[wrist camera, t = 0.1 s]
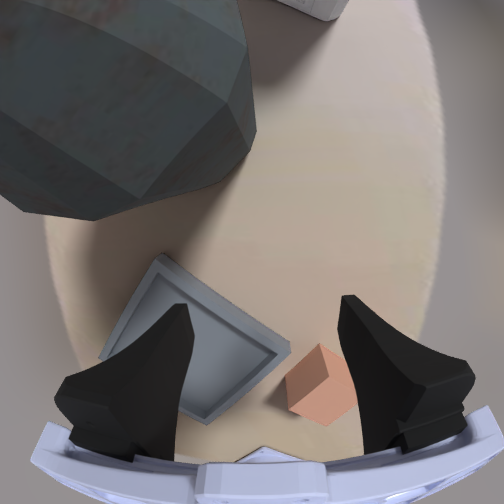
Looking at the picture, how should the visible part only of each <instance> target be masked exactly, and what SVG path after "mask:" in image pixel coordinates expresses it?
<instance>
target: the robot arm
mask: <svg viewBox="0 0 504 504" xmlns="http://www.w3.org/2000/svg"><path fill="white" fill-rule="evenodd" d="M337 330H338V335H339V340H340V345H341V348H342V351H343V354H344V357H345V360H346V363H347V366H348V369H349V372H350V375H351V377H352V380H353V383H354V387H355V391H356V396H357V401H358V406H359V412H360V419H361V426H362V435H363V445H364V455H362V456H358V457H352V458H347V459H341V460H335V461H329V462H316V461H312V460H309V461H305V460H302V459H299V458H296V457H293V456H290V455H287V454H284V453H281V452H278V451H275V450H273V449H270V448H267V447H261V448H260V449H258V450H256V451H255V452H253V453H251V454H250V455H248V456H246V457H244V458H243V459H241V460H239V461H237V462H209V463H206V464H202V465H199V464H189V463H181V462H174V449H175V435H176V424H177V416H178V409H179V402H180V396H181V392H182V388H183V384H184V381H185V378H186V374H187V371H188V367H189V364H190V360H191V357H192V353H193V347H194V339H195V334H194V330H193V326H192V322H191V318H190V314H189V310H188V306H187V303H175V304H174V305H173V306H171V307H170V308H169V309H168V310H167V311H166V312H165V313H164V314H163V315H162V316H161V317H160V318H159V319H158V320H157V321H156V322H155V323H154V324H153V325H152V326H151V327H150V328H149V329H148V330H147V331H146V332H144V333H143V334H142V335H141V336H140V337H139V338H138V339H136V340H135V341H134V342H133V343H131V344H130V345H129V346H127V347H126V348H124V349H123V350H122V351H120V352H119V353H117V354H115V355H114V356H112V357H110V358H109V359H107V360H105V361H103V362H102V363H100V364H98V365H96V366H93V367H91V368H89V369H87V370H84V371H82V372H79V373H76V374H73V375H70V376H67V377H66V378H65V379H64V381H63V383H62V384H61V386H60V388H59V390H58V392H57V393H56V395H55V397H54V401H55V403H56V405H57V407H58V408H59V410H60V411H61V412H62V413H63V414H64V416H65V417H66V418H67V419H68V420H69V421H70V422H71V423H72V424H73V425H74V427H73V429H72V431H71V430H69V429H68V428H66V427H64V426H61V425H59V424H56V423H53V422H51V421H48V422H47V424H46V427H45V428H44V431H43V433H42V435H41V437H40V439H39V441H38V443H37V446H36V448H35V450H34V452H33V455H32V457H31V459H30V461H31V462H32V463H33V464H35V465H36V466H37V467H38V468H40V469H41V470H43V471H44V472H45V473H47V474H48V475H50V476H51V477H53V478H54V479H55V480H57V481H59V482H60V483H61V484H63V485H66V486H68V487H70V488H72V489H74V490H76V491H79V492H81V493H83V494H85V495H87V496H90V497H92V498H95V499H97V500H99V501H102V502H105V503H107V504H410V503H412V502H415V501H417V500H420V499H422V498H424V497H427V496H429V495H431V494H433V493H435V492H438V491H440V490H442V489H444V488H446V487H448V486H450V485H452V484H454V483H456V482H458V481H460V480H462V479H463V478H465V477H467V476H469V475H471V474H472V473H474V472H476V471H477V470H479V469H480V468H482V467H483V466H484V465H485V464H487V463H488V462H489V461H490V460H492V459H493V458H494V457H495V456H496V455H498V454H499V453H500V452H501V451H502V450H503V449H504V437H503V435H502V433H501V430H500V428H499V426H498V424H497V422H496V420H495V418H494V416H493V414H492V412H491V410H490V408H489V406H488V405H485V406H483V407H481V408H479V409H477V410H475V411H473V412H471V413H469V414H468V415H467V416H465V417H464V416H463V414H462V412H463V411H464V406H463V404H462V402H463V400H464V399H465V397H466V396H467V395H468V393H469V392H470V390H471V389H472V387H473V385H474V382H475V374H474V373H473V371H472V369H471V368H470V366H469V365H468V363H467V362H466V361H465V360H461V359H458V358H454V357H450V356H447V355H445V354H442V353H439V352H437V351H434V350H432V349H430V348H427V347H425V346H423V345H421V344H419V343H417V342H416V341H414V340H412V339H410V338H409V337H407V336H405V335H404V334H402V333H401V332H399V331H398V330H396V329H395V328H393V327H392V326H391V325H389V324H388V323H387V322H386V321H384V320H383V319H382V318H381V317H379V316H378V315H377V314H376V313H375V312H373V311H372V310H371V309H370V308H369V307H368V306H367V305H365V304H364V303H363V302H362V301H361V300H360V299H359V298H358V297H356V296H355V295H344V296H342V298H341V306H340V314H339V321H338V328H337Z"/></svg>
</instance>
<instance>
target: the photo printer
mask: <svg viewBox="0 0 504 504" xmlns="http://www.w3.org/2000/svg"><path fill="white" fill-rule="evenodd" d="M277 1H279V2H282V3H284V4H287V5H289V6H291V7H293V8H296V9H298V10H300V11H302V12H304V13H307V14H309V15H311V16H313V17H316V18H318V19H321V20H323V21H329V20H333V19H336V18H337V17H339V16H340V15H341V13H342V12H343V10H344V8H345V6H346V5H347V3H348V1H349V0H277Z"/></svg>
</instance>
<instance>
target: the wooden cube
mask: <svg viewBox="0 0 504 504" xmlns="http://www.w3.org/2000/svg"><path fill="white" fill-rule="evenodd" d="M285 380H286V390H287V401H288V410H290V411H292V412H294V413H297V414H299V415H301V416H303V417H305V418H308V419H310V420H312V421H315V422H317V423H319V424H322V425H324V426H328V425H329V424H331V423H332V422H334V421H335V420H336V419H338V418H339V417H340V416H342V415H343V414H344V413H346V412H347V411H348V410H350V409H351V408H352V407H353V406H355V405H356V404H357V403H358V401H357V396H356V391H355V387H354V383H353V380H352V377H351V375H350V372H349V369H348V366H347V363H346V360H344V359H343V358H341V357H339V356H338V355H336V354H335V353H333V352H332V351H330V350H329V349H327V348H326V347H324V346H323V345H321V344H320V343H319V344H318V345H317V346H316V347H315V348H314V349H313V350H312V351H311V352H310V353H309V354H308V355H307V356H306V357H304V358H303V359H302V360H301V361H300V362H299V363H298V364H297V365H296V366H295V367H294V368H293V369H291V370H290V371H289V372H288V373H287V374H286V375H285Z"/></svg>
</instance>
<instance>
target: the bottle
mask: <svg viewBox="0 0 504 504" xmlns="http://www.w3.org/2000/svg"><path fill="white" fill-rule="evenodd" d="M256 132H257V130H256V120H255V110H254V101H253V92H252V82H251V73H250V64H249V56H248V47H247V43H246V38H245V34H244V29H243V25H242V20H241V16H240V12H239V7H238V3H237V0H0V195H2V196H3V197H4V198H6V199H7V200H8V201H9V202H11V203H12V204H14V205H15V206H16V207H18V208H19V209H20V210H22V211H23V212H28V213H36V214H43V215H51V216H58V217H66V218H73V219H80V220H88V221H96V220H99V219H102V218H105V217H108V216H111V215H114V214H117V213H120V212H123V211H126V210H129V209H132V208H135V207H138V206H142V205H145V204H148V203H152V202H155V201H158V200H162V199H165V198H169V197H172V196H176V195H179V194H183V193H187V192H190V191H194V190H198V189H201V188H204V187H207V186H209V185H212V184H215V183H218V182H220V181H221V180H222V179H223V178H224V177H225V176H226V175H227V174H228V173H229V172H230V171H231V170H232V169H233V168H234V167H235V166H236V165H237V164H238V163H239V162H240V161H241V160H242V159H243V158H244V157H245V156H246V155H247V154H248V153H249V152H250V150H251V147H252V144H253V141H254V138H255V135H256Z"/></svg>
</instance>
